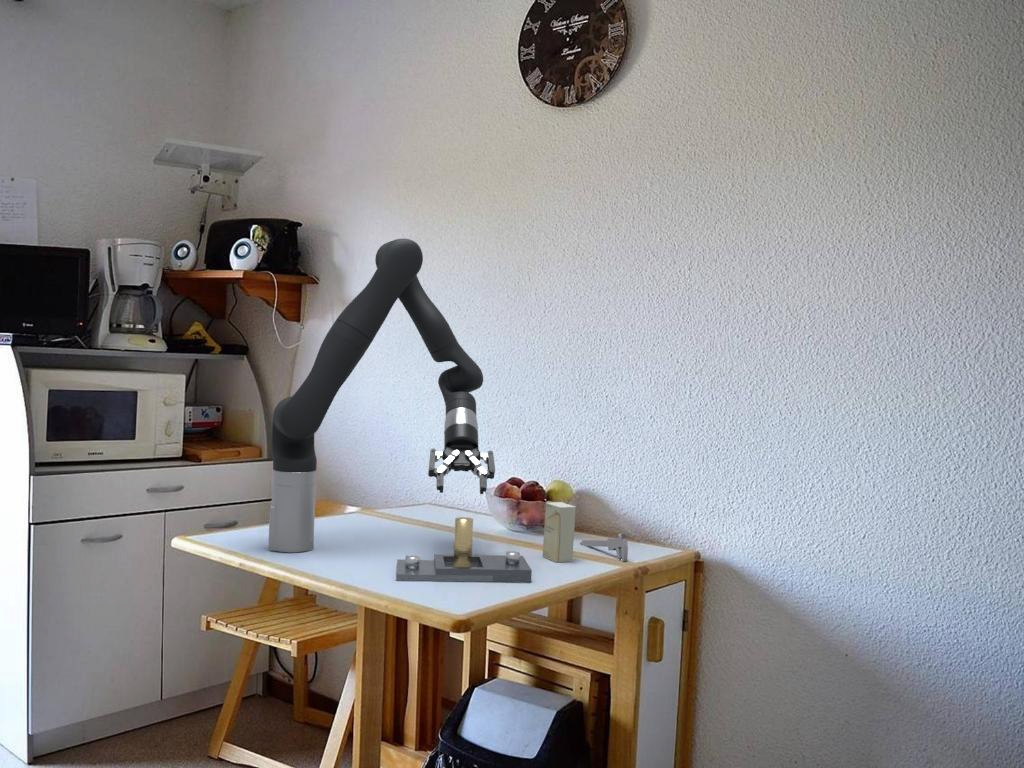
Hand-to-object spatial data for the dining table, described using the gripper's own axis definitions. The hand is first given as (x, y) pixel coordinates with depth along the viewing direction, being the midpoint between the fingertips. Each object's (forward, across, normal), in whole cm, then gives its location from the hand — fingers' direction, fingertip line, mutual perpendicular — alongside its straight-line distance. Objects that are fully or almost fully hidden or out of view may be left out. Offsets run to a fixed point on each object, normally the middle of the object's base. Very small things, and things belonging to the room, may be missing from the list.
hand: (461, 491), depth 187 cm
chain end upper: (+18, +4, +4) cm, 19 cm away
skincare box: (+7, +22, +14) cm, 27 cm away
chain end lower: (+18, -4, +4) cm, 19 cm away
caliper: (+2, +34, +20) cm, 40 cm away
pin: (+18, 0, +4) cm, 18 cm away
